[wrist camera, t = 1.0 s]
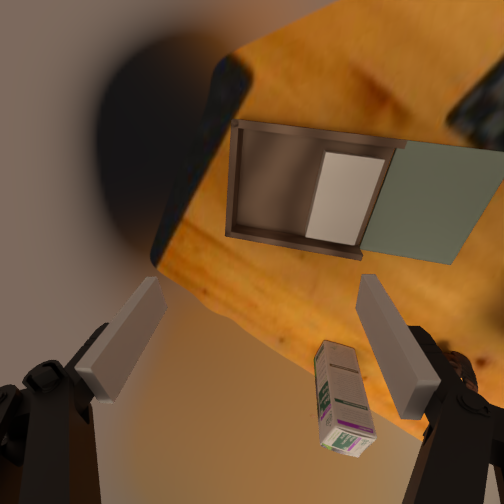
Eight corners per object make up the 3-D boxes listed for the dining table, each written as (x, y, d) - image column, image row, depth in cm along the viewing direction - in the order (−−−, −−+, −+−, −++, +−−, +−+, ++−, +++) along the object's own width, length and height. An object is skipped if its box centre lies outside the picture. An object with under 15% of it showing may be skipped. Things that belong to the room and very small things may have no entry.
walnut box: (394, 138, 27) (407, 140, 23) (354, 246, 34) (361, 260, 30) (240, 119, 29) (231, 118, 25) (232, 225, 36) (224, 236, 32)
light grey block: (376, 156, 27) (384, 160, 24) (350, 235, 32) (354, 245, 29) (323, 149, 28) (326, 152, 25) (305, 228, 32) (305, 237, 30)
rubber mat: (515, 153, 26) (518, 153, 25) (448, 263, 32) (450, 265, 32) (398, 139, 27) (400, 139, 26) (358, 247, 34) (359, 249, 33)
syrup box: (323, 338, 43) (332, 427, 30) (355, 348, 42) (378, 441, 30) (313, 358, 46) (317, 447, 33) (343, 367, 45) (359, 460, 33)
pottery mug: (472, 378, 41) (471, 428, 37) (408, 357, 47) (401, 399, 43) (487, 345, 34) (488, 403, 30) (409, 326, 40) (401, 372, 36)
